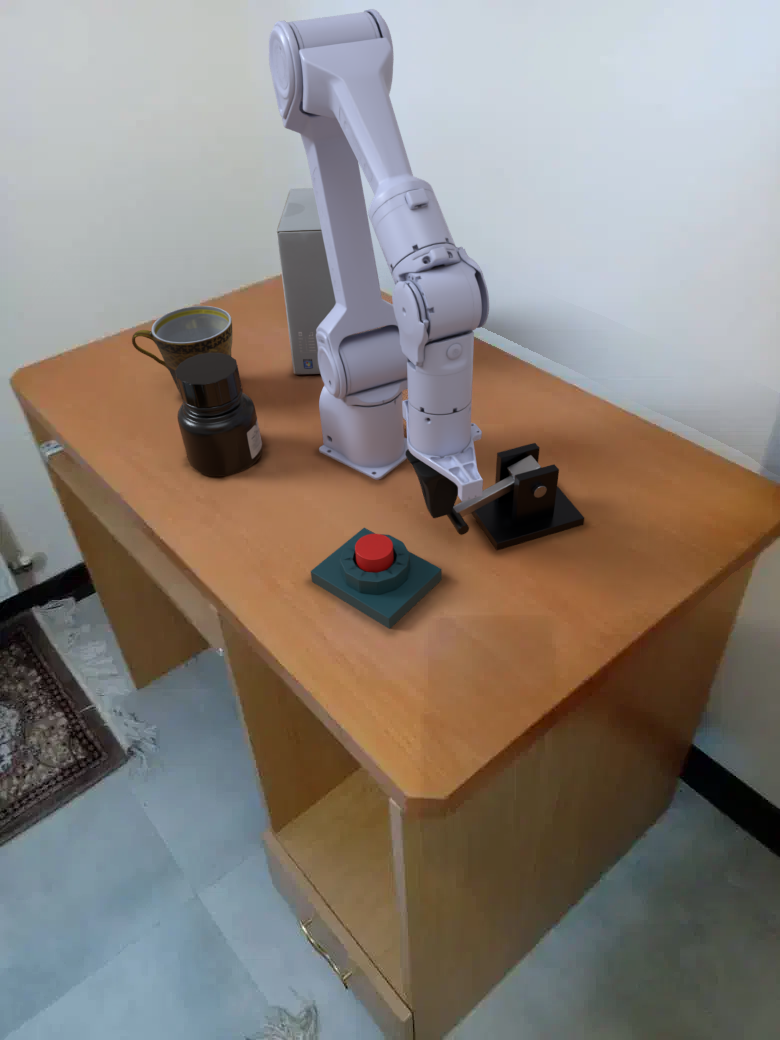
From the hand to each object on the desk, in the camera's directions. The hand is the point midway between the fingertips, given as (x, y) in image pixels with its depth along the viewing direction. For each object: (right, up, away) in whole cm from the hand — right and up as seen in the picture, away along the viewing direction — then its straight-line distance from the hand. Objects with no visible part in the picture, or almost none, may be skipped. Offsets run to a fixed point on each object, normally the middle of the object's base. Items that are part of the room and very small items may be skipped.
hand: (439, 512), depth 80 cm
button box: (-6, -7, -2) cm, 10 cm away
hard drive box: (-14, +24, +34) cm, 44 cm away
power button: (-6, -5, -4) cm, 9 cm away
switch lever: (+6, +1, +2) cm, 6 cm away
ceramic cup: (-31, +16, +26) cm, 43 cm away
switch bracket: (+9, 0, +5) cm, 10 cm away
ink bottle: (-25, +7, +15) cm, 30 cm away
